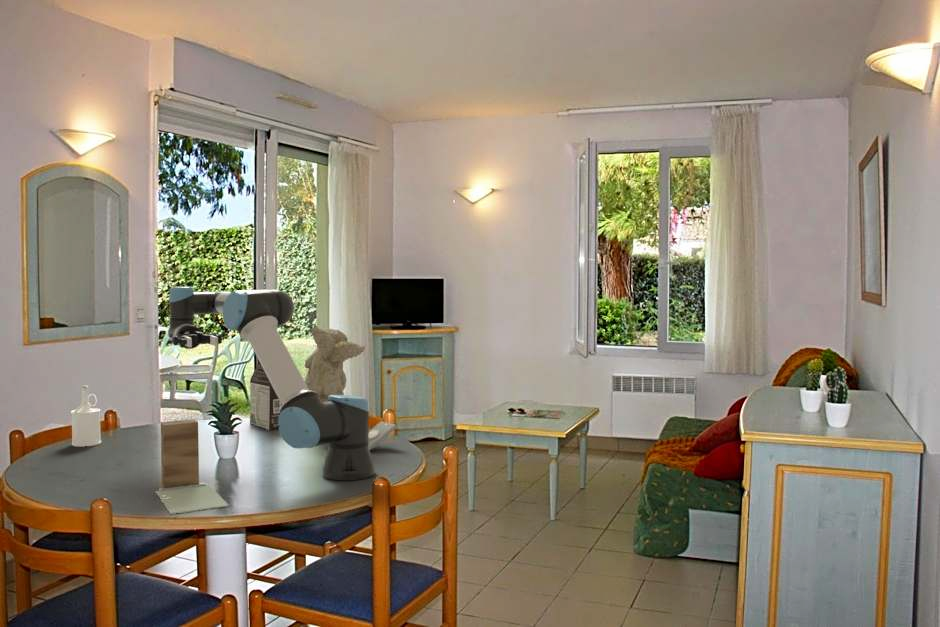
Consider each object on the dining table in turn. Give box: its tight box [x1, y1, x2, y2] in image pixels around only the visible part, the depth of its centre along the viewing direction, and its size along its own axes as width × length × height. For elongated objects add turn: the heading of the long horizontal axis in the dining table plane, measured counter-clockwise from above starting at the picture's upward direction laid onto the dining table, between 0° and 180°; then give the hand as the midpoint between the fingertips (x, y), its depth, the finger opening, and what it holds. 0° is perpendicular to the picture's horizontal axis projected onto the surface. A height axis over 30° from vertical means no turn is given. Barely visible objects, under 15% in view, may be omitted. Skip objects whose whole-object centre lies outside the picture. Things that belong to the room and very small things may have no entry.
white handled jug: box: [70, 385, 102, 448], centre depth 279 cm, size 10×9×20 cm
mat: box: [155, 484, 230, 515], centre depth 215 cm, size 22×14×1 cm, turn 30°
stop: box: [158, 482, 207, 491], centre depth 224 cm, size 1×12×1 cm, turn 120°
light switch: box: [369, 421, 398, 451], centre depth 275 cm, size 8×6×14 cm
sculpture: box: [304, 322, 366, 402], centre depth 298 cm, size 22×24×40 cm
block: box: [160, 418, 200, 488], centre depth 226 cm, size 4×9×18 cm, turn 120°
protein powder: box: [249, 357, 282, 431], centre depth 312 cm, size 16×9×28 cm, turn 42°
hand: (203, 342), depth 245 cm, fingers open, 7 cm apart
